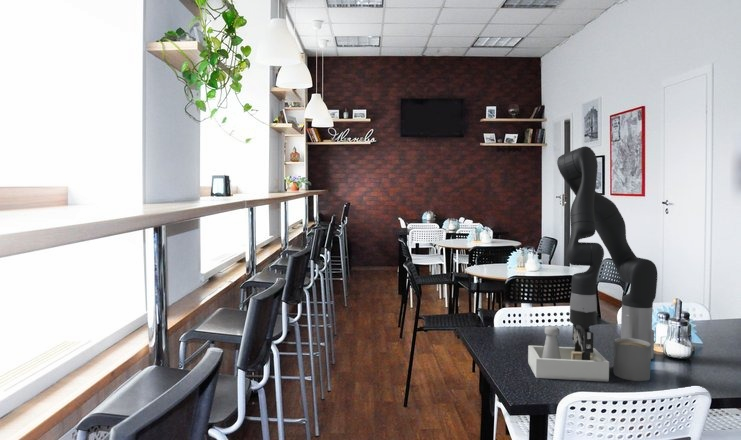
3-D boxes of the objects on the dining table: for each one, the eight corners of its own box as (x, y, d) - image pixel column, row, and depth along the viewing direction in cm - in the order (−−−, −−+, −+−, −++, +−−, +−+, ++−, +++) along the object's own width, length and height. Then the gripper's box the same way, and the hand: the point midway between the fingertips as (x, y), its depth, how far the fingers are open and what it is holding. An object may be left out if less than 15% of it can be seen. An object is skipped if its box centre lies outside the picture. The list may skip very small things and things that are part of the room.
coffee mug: (641, 383, 152) (642, 349, 151) (607, 374, 159) (608, 341, 159) (660, 373, 160) (661, 341, 160) (627, 365, 168) (628, 334, 167)
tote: (594, 365, 167) (594, 348, 167) (608, 381, 153) (609, 362, 153) (528, 362, 170) (528, 345, 170) (536, 377, 156) (536, 359, 155)
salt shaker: (559, 366, 164) (560, 325, 164) (562, 372, 159) (563, 329, 158) (540, 365, 165) (541, 324, 165) (542, 371, 160) (543, 328, 159)
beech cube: (571, 367, 164) (571, 351, 163) (588, 368, 163) (588, 352, 163) (574, 372, 159) (575, 356, 158) (592, 373, 158) (592, 357, 158)
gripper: (564, 302, 167) (563, 353, 168) (576, 312, 153) (574, 367, 154) (589, 303, 166) (588, 354, 167) (603, 313, 152) (601, 368, 153)
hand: (581, 360), depth 161 cm, fingers open, 8 cm apart
